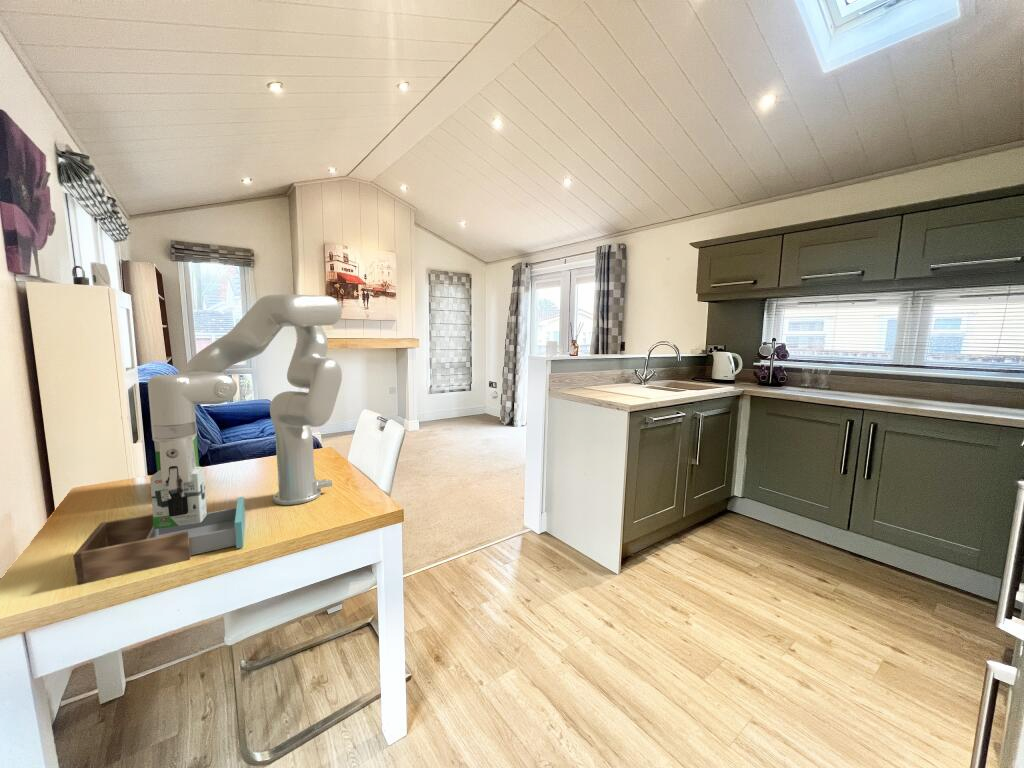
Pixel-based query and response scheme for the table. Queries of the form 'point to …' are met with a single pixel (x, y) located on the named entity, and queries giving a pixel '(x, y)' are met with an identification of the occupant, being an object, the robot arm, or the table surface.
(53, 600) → the table surface
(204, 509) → the ink box
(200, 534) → the tray
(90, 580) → the storage unit
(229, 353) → the robot arm
